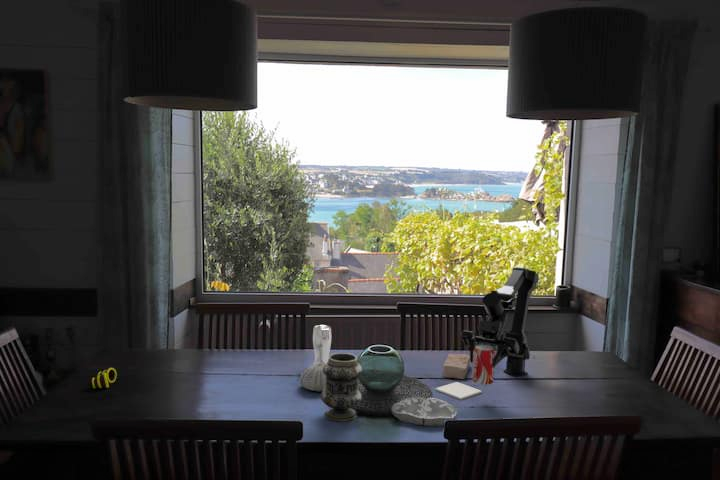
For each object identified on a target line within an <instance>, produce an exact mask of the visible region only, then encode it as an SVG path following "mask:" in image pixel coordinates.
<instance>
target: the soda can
mask: <svg viewBox="0 0 720 480" xmlns="http://www.w3.org/2000/svg"><path fill="white" fill-rule="evenodd" d="M495 355H496V352H495V350H494V346H493V345H489V344H476V346H475V349H474V351H473V362H472V366H471V367H472V368H471V369H472V370H471V372H472V373H471V378H472V382H474V383H475V384H476V385H478V386H481V387H482V386H483V387H485V386H486V387H487V386H490V385H492V384H493V383H494V380H495V369H496V366H495V367H492V364H493V360H494V358H495Z"/></svg>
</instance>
